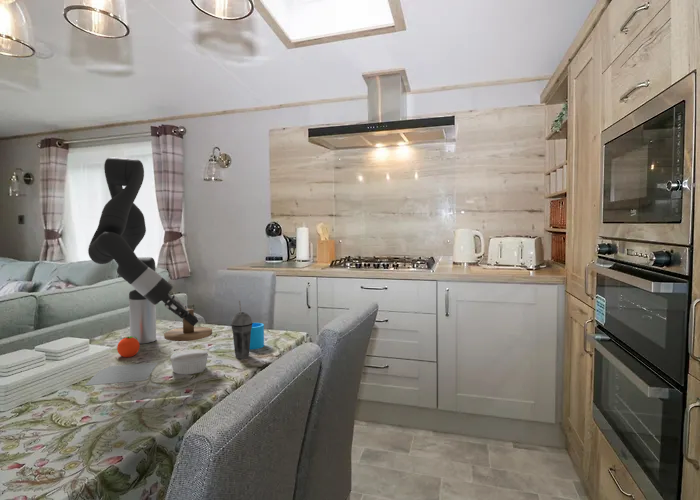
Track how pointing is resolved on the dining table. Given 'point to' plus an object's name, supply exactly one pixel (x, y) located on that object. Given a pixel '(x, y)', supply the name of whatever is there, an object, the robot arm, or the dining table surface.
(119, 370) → the slate mat
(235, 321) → the beverage cup
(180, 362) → the ramekin
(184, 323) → the walnut lid
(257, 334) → the mug
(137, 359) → the dining table surface
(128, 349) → the clementine
